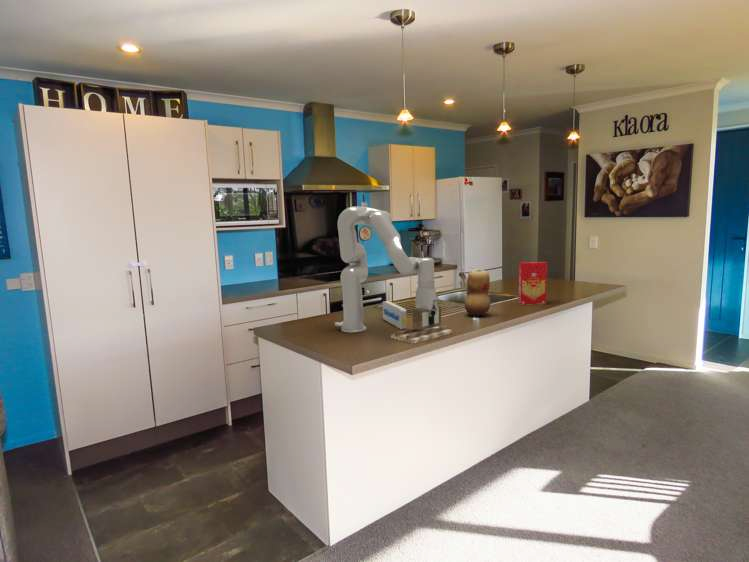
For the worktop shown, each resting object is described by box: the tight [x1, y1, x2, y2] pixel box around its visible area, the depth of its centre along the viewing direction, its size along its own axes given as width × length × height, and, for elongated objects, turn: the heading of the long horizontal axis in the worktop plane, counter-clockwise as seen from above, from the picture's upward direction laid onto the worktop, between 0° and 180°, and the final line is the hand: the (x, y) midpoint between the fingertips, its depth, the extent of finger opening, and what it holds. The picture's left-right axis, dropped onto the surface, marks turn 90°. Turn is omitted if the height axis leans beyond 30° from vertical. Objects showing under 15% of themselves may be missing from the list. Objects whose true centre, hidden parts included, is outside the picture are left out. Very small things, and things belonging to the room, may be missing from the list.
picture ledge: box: [390, 325, 454, 345], centre depth 220 cm, size 26×14×3 cm, turn 129°
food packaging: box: [518, 261, 548, 304], centre depth 283 cm, size 15×5×25 cm, turn 88°
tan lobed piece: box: [464, 268, 491, 317], centre depth 257 cm, size 14×13×25 cm
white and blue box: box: [382, 300, 409, 330], centre depth 242 cm, size 32×4×10 cm, turn 18°
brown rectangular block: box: [411, 305, 442, 331], centre depth 221 cm, size 14×5×9 cm, turn 129°
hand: (427, 323), depth 222 cm, fingers closed on brown rectangular block, 5 cm apart
